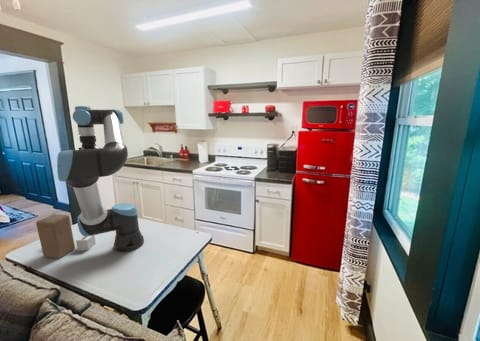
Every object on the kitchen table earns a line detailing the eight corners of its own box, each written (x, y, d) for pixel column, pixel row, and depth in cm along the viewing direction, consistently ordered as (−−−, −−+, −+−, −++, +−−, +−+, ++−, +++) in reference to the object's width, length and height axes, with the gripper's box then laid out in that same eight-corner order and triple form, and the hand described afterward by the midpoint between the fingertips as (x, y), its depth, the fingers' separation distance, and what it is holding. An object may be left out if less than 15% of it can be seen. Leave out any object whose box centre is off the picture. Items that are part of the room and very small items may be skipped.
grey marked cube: (95, 244, 130) (94, 234, 128) (89, 250, 124) (87, 239, 123) (85, 244, 130) (83, 234, 128) (77, 250, 124) (75, 240, 123)
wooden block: (58, 259, 116) (51, 223, 111) (42, 257, 118) (34, 221, 113) (76, 248, 125) (69, 214, 121) (61, 246, 127) (54, 213, 123)
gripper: (102, 134, 129) (108, 175, 134) (84, 134, 132) (90, 174, 138) (90, 135, 122) (97, 178, 127) (71, 135, 125) (79, 177, 131)
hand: (93, 176), depth 132 cm, fingers closed
